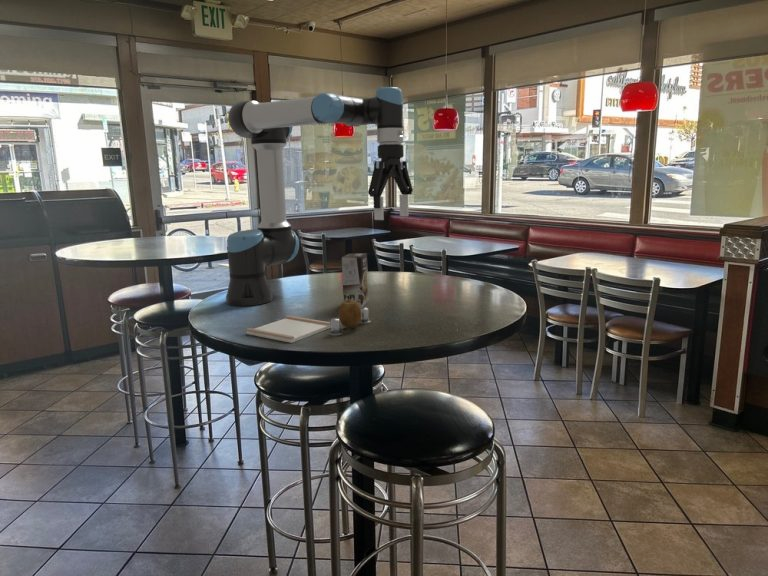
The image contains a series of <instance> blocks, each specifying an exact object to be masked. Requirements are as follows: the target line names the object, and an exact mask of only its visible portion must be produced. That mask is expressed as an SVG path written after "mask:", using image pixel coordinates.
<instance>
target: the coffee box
mask: <svg viewBox="0 0 768 576" xmlns="http://www.w3.org/2000/svg"><path fill="white" fill-rule="evenodd" d="M341 273H342V275H341V277H342V301H343V302H345V301H347V300H349V299H350V300H352V301H355V302H357V303H358V304H359V306H360V308H364V306H365V305H366V304H368V302H369V280H368V279H369V277H368V275H369V274H368V273H369V271H368V253H367V252H366V253H365V252H360V253H359V252H358V253H357V252H355V253H347V254H346V255H343V256H342V257H341ZM343 302H342V303H343Z"/></svg>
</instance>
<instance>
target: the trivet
mask: <svg viewBox="0 0 768 576" xmlns="http://www.w3.org/2000/svg"><path fill="white" fill-rule="evenodd" d="M328 329H331V321H325V320H324V321H323V320H320V319H319V320H317V319H314V318H313V319H312V318H307V317H306V318H305V317H300V316H296V315H295V316H293V315H286V316H285V318H283V319H279V320H276V321H273V322H269V323H267V324H264V325H260V326H259V327H255V328H251V327H248V328H246V335H249V336H256V337H260V338H266V339H271V340H275V341H281V342H287V343H290V344H291V343H294V342H297V341H300V340H302V339H305V338H308V337H310V336H313V335H315V334H318V333H321V332H323V331H326V330H328Z"/></svg>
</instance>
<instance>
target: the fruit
mask: <svg viewBox="0 0 768 576" xmlns="http://www.w3.org/2000/svg"><path fill="white" fill-rule="evenodd" d="M338 318H339V319H340V324H341V326H344V327H345V328H347V329H353V328H355V327H357V326H358V325H359V322H360V320H361V309H360V306H359V304H358V303H357V302H355V301H352V300H350V299H349V300H347V301H345V302H342V303H340V306H339V308H338Z"/></svg>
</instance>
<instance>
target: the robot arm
mask: <svg viewBox="0 0 768 576" xmlns="http://www.w3.org/2000/svg"><path fill="white" fill-rule="evenodd" d="M375 91H376V92H375V96H372V97H363V98H362V97H353V96H349V95H348V96H347V95H341V94H336V93H333V92H322V93H319V94H318V95H316V96H308V97H307V96H306V97H299V98H294V99H293V98H292V99H285V100H284V99H283V100H277V101H268V102H260V101H257V100H240V101H237V102H236V103H234V104H233V105H232V106H231V107H230V109H229V111H228V115H227V121H228V124H229V127H230V129H231V130H232V131H233V133H235V135H237V136H238V137H242V138H243V139H244V138H245V139H250V141H251V142H250V143H251V146H252V147H253V149H255V150H256V151H255V152H256V164H257V175H258V178H257V179H258V188H259V189H258V192H259V205H260V220H261V221H260V222H259V224H258V225H257V227H256V229H255V228H254V229H253V228H252V229H246V230H239V231H236V232H233V233H230V234H229V235H228V237H227V238H226V243H227V244H226V251H227V259H228V260H227V261H228V273H229V281H228V282H229V283H228V287H227V293H226V295H225V300H226V304H227V305H229V306H236V307H237V306H238V307H239V306H240V307H247V306H248V307H249V306H257V305H262V304H267V303H269V302H272V301H273V292H272V291H271V288H270V284H269V282H268V280H267V277H266V276H267V275H266V267H270V266H274V265H283V264H286V263H288V262H291V261H292V260H293V259H294V258H295V257H296V256H297V255H298V253H299V249H300V239H299V237H298V235H297V234H296V232H295V231H294V230H293V229H292V225H291V223H290V222H289V221H288V220H287V207H286V191H285V189H286V188H285V175H284V172H285V171H284V159H283V158H284V157H283V156H284V155H283V150H284V149H285V147H286V146H287V139H288V138H290V136H291V133H293V132H292V131H293V127H301V126H310V125H320V124H321V125H323V124H324V125H325V124H343V125H345V126H347V127H359V126H366V125H376V140H377V141H376V142H377V144H378V145H377V158H378V159H380V160H375V161H374V162H373V172H372V176H371V179H370V182H369V183H370V184H369V187H368V191H367V192H368V193H367V194H368V195H369V197H371V198H373V211H374V212H373V215H374V216H373V217H374V220H375V221H384V220H385V218H384V214H385V213H384V196H382V195H383V193H384V190H385V187H386V185H387V184H388V181H389V179H390V178H392V179H394V181H395V183H396V185H397V187H398V190H399V192H400V194H399V196H398V197H399V217H409V214H410V213H409V195H412V194H413V191H414V190H413V189H414V188H413V186H412V181H411V178H410V174H409V170H408V165H407V160H401V159H402V158H404V149H405V148H404V145H403V144H402V143H404V125H403V124H404V123H403V121H404V117H403V116H404V114H403V113H404V112H403V110H404V109H403V108H404V103H403V91H402V89H401V88H399V87H397V86H396V87H395V86H383V87H382V86H381V87H380V88H379V87H378V88H377V89H376V90H375Z"/></svg>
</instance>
